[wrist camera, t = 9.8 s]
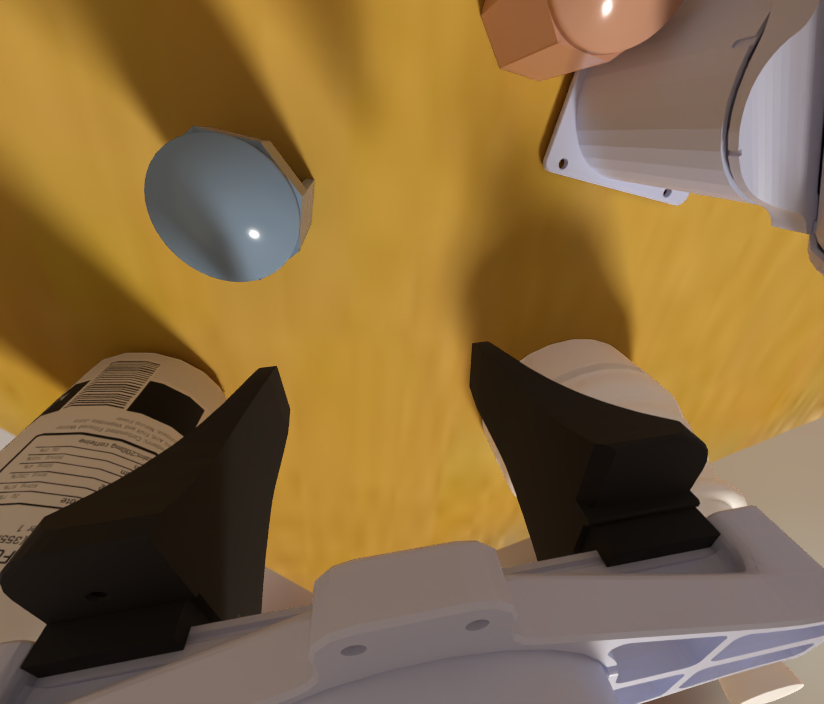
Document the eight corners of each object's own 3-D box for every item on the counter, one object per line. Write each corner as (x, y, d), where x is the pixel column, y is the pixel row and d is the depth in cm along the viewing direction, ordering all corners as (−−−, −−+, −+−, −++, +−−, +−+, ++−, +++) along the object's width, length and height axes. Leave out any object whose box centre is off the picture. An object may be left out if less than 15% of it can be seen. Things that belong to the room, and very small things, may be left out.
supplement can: (254, 423, 25) (159, 714, 13) (145, 455, 25) (-58, 776, 13) (187, 329, 21) (-64, 634, 8) (55, 368, 21) (-400, 733, 8)
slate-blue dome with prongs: (316, 147, 17) (303, 153, 12) (309, 249, 19) (295, 290, 14) (201, 119, 16) (131, 112, 11) (209, 232, 18) (155, 270, 13)
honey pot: (449, 419, 28) (567, 754, 13) (581, 305, 24) (970, 595, 9) (538, 476, 34) (690, 750, 19) (655, 392, 30) (965, 653, 15)
